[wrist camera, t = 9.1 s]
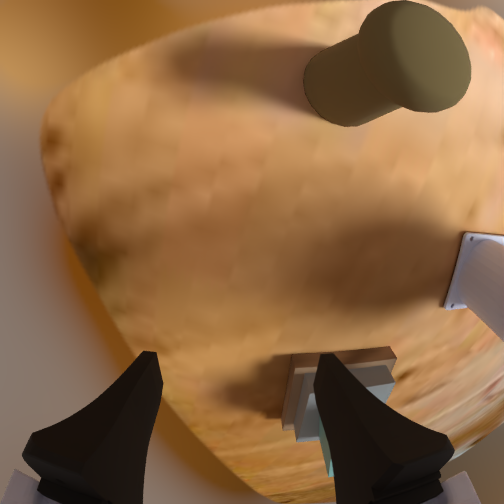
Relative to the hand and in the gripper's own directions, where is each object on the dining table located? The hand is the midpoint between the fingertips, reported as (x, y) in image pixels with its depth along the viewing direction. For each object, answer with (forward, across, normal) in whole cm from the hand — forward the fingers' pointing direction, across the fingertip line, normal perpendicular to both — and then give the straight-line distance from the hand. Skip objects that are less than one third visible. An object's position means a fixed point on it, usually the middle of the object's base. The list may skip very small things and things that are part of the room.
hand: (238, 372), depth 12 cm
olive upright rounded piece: (+11, -7, -14) cm, 19 cm away
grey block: (+9, -10, +13) cm, 18 cm away
